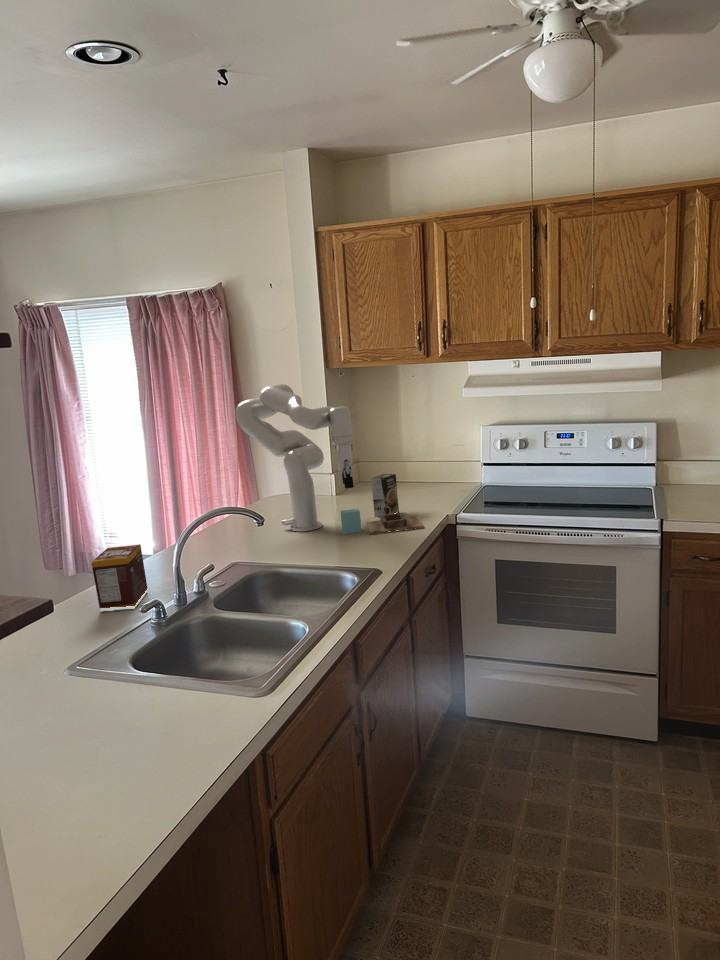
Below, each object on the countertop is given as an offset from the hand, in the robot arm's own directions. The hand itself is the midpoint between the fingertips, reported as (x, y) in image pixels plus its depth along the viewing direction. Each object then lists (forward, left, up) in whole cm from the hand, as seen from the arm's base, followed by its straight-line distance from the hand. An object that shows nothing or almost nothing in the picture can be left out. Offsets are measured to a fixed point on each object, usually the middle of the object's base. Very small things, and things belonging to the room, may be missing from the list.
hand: (348, 485), depth 269 cm
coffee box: (+16, +20, -18) cm, 31 cm away
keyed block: (0, 0, -18) cm, 18 cm away
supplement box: (-73, -51, -18) cm, 91 cm away
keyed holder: (+16, 0, -18) cm, 24 cm away
